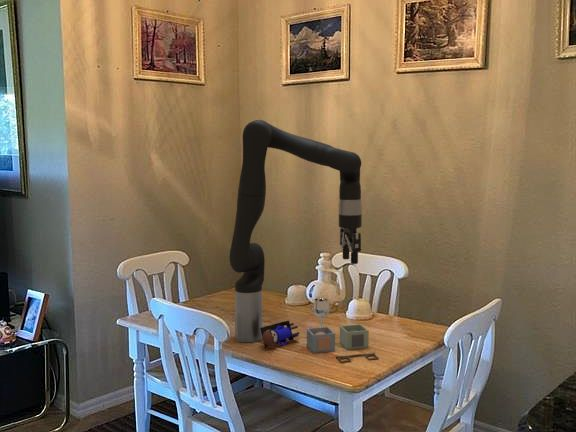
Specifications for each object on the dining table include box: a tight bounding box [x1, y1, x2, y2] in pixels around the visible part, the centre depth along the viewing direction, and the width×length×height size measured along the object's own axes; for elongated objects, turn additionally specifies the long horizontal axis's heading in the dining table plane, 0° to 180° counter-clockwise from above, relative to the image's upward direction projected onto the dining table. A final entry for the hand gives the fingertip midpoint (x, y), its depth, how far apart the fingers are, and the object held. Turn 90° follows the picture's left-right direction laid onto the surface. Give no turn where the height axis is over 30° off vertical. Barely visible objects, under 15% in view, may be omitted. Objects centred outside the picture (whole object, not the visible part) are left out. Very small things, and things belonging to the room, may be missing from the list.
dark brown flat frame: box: [335, 352, 380, 364], centre depth 189 cm, size 13×4×1 cm, turn 103°
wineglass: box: [312, 297, 330, 327], centre depth 215 cm, size 6×6×12 cm
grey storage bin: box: [306, 326, 336, 354], centre depth 198 cm, size 8×8×6 cm
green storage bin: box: [339, 323, 370, 351], centre depth 201 cm, size 8×8×6 cm
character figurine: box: [260, 320, 300, 348], centre depth 203 cm, size 8×7×15 cm
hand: (350, 261), depth 200 cm, fingers open, 8 cm apart
